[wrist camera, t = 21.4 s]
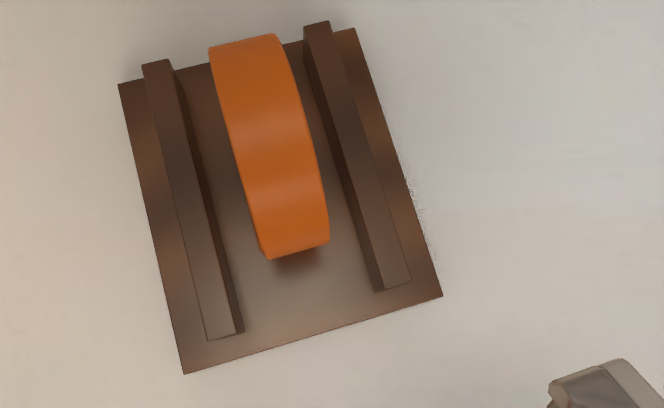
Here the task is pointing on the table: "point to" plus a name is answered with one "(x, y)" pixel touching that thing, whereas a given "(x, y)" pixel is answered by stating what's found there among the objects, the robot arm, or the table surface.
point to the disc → (271, 145)
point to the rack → (235, 221)
